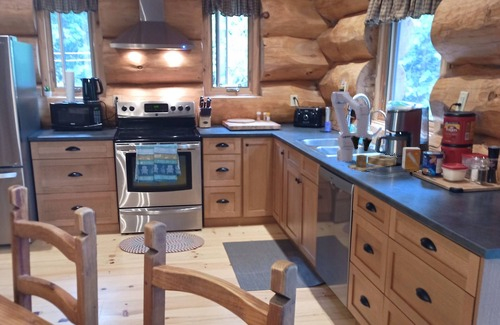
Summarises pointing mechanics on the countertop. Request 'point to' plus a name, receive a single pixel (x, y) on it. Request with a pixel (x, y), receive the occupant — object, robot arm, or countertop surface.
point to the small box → (411, 159)
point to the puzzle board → (375, 163)
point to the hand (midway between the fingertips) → (360, 150)
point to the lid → (388, 156)
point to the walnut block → (361, 161)
